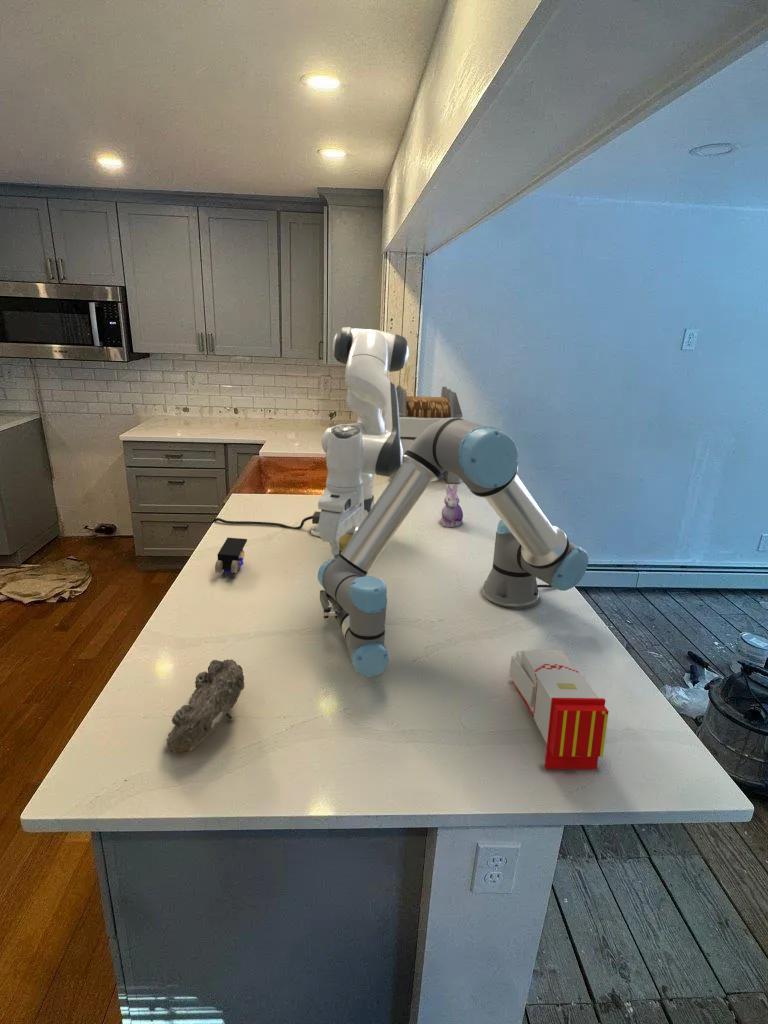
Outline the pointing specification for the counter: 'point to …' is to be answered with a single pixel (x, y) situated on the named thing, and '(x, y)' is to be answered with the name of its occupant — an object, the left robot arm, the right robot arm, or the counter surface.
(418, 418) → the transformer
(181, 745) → the fossil
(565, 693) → the toy
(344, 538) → the lid
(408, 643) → the counter surface
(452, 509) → the figurine
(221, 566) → the figurine character
